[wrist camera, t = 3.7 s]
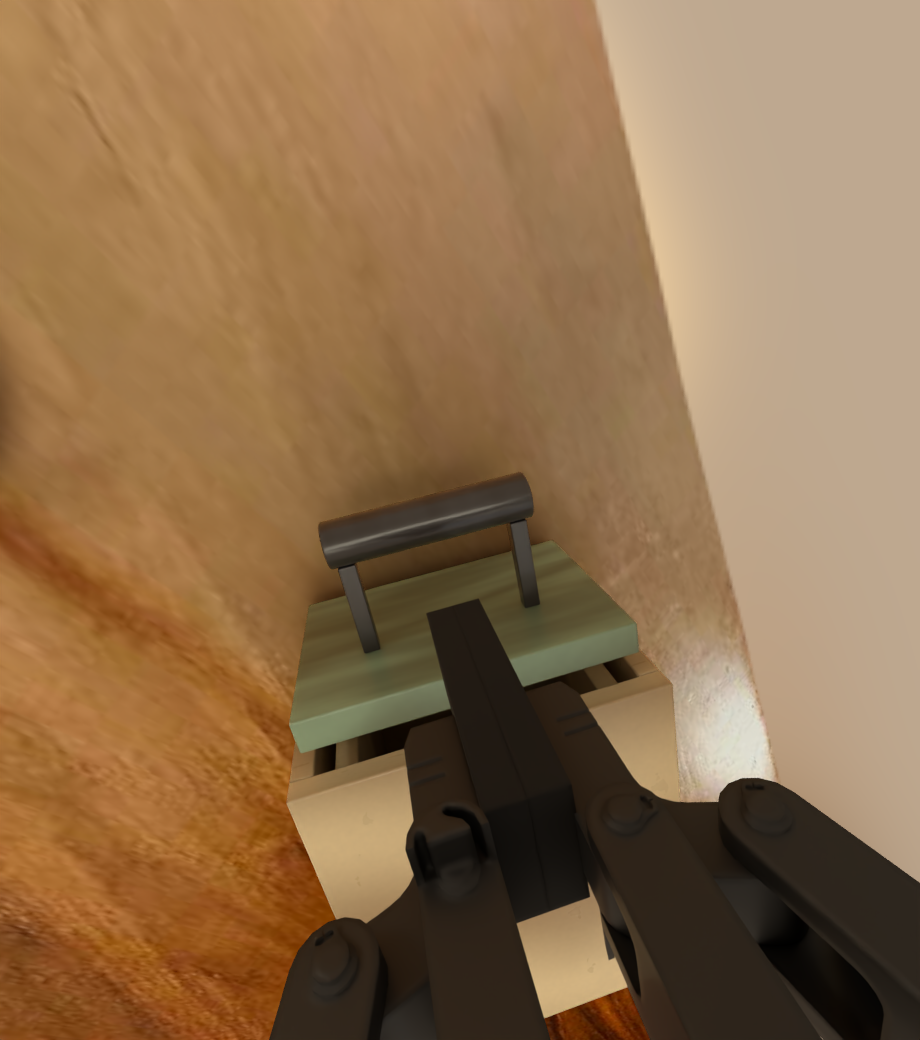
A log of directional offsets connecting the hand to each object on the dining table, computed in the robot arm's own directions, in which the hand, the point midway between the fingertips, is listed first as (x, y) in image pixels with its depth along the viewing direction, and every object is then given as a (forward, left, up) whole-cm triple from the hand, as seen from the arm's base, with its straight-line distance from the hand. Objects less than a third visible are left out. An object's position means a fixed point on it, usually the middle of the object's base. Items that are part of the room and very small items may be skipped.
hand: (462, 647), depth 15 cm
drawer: (0, +6, -9) cm, 11 cm away
